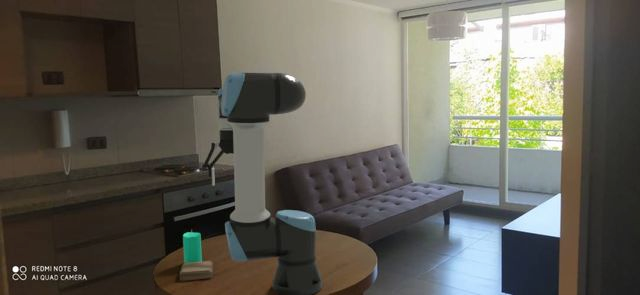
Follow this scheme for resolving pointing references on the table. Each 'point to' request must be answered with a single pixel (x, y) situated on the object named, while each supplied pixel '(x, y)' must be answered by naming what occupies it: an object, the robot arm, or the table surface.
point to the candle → (192, 247)
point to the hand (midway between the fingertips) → (231, 184)
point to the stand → (196, 270)
